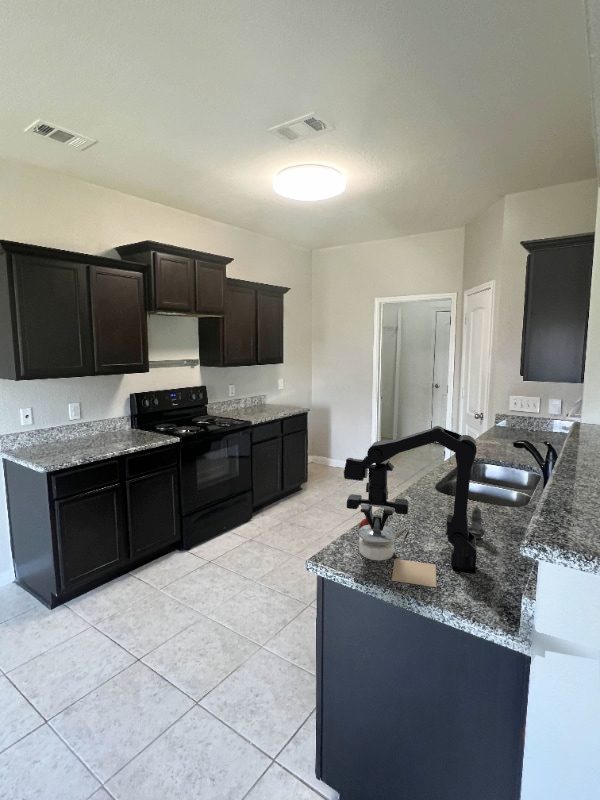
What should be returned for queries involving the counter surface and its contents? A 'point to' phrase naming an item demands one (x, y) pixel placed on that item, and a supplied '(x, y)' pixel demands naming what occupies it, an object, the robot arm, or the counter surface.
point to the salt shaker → (476, 525)
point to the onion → (364, 523)
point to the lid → (377, 532)
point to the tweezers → (401, 532)
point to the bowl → (376, 550)
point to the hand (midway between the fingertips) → (377, 529)
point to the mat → (414, 572)
